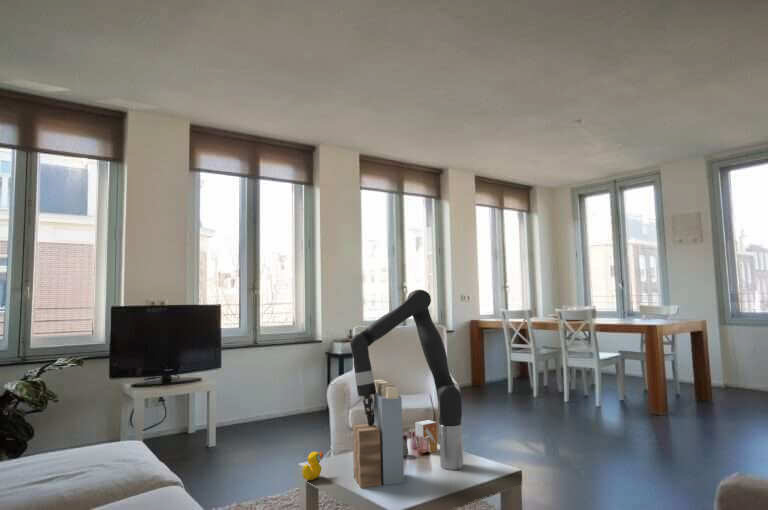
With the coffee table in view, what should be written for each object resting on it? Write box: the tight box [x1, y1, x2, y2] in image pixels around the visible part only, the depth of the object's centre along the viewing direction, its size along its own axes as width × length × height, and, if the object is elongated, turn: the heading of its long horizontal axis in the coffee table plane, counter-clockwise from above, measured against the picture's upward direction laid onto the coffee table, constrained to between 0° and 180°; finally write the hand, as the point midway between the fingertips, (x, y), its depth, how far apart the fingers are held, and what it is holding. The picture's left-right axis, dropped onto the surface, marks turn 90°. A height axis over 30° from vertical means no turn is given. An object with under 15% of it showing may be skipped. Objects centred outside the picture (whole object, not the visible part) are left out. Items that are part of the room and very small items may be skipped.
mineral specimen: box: [403, 438, 409, 457], centre depth 225 cm, size 7×9×8 cm
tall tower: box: [373, 392, 405, 486], centre depth 197 cm, size 12×8×32 cm, turn 15°
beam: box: [374, 379, 399, 399], centre depth 202 cm, size 22×4×4 cm, turn 15°
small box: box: [414, 419, 438, 453], centre depth 231 cm, size 8×6×13 cm
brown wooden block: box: [352, 422, 382, 489], centre depth 194 cm, size 12×8×20 cm, turn 15°
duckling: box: [302, 451, 324, 481], centre depth 198 cm, size 11×5×10 cm, turn 150°
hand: (372, 424), depth 201 cm, fingers open, 8 cm apart
